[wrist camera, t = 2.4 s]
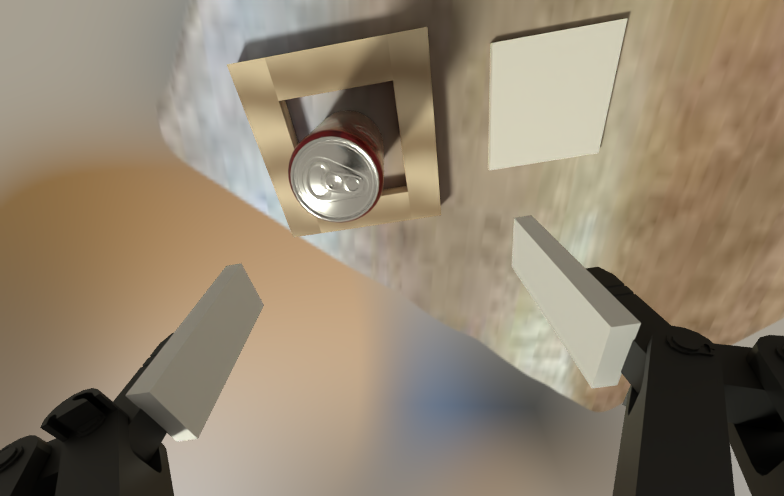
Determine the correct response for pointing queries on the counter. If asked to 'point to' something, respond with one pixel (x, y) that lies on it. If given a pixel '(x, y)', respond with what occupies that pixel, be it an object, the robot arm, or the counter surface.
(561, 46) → the tile
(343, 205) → the soda can
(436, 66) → the counter surface
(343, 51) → the well board
